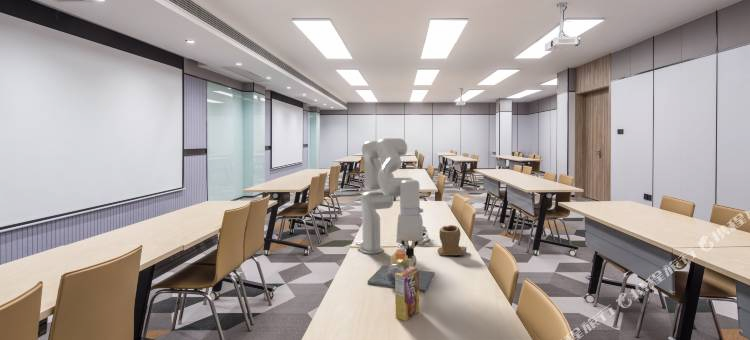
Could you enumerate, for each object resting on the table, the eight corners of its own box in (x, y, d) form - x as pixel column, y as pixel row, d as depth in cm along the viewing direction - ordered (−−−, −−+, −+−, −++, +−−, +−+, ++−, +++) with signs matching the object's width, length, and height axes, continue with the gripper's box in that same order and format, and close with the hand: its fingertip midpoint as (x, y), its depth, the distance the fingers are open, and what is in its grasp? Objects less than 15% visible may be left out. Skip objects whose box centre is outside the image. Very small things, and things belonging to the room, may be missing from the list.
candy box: (409, 307, 124) (409, 265, 123) (419, 311, 121) (420, 268, 120) (394, 317, 117) (394, 273, 116) (404, 321, 115) (405, 276, 113)
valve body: (367, 283, 144) (367, 253, 143) (382, 267, 162) (382, 240, 161) (425, 292, 136) (425, 260, 135) (434, 274, 154) (434, 246, 152)
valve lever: (398, 247, 149) (398, 242, 149) (406, 247, 149) (406, 243, 149) (395, 258, 136) (395, 253, 135) (404, 259, 135) (404, 254, 135)
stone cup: (438, 258, 175) (438, 228, 173) (437, 250, 187) (437, 222, 185) (469, 259, 173) (469, 229, 171) (466, 251, 185) (466, 223, 183)
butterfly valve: (429, 245, 194) (430, 233, 211) (418, 211, 192) (420, 203, 209) (414, 248, 196) (416, 237, 213) (403, 216, 194) (406, 207, 211)
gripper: (429, 210, 139) (429, 255, 141) (391, 209, 142) (392, 253, 143) (429, 213, 132) (428, 261, 133) (389, 212, 134) (390, 259, 136)
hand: (409, 257), depth 138 cm, fingers closed
